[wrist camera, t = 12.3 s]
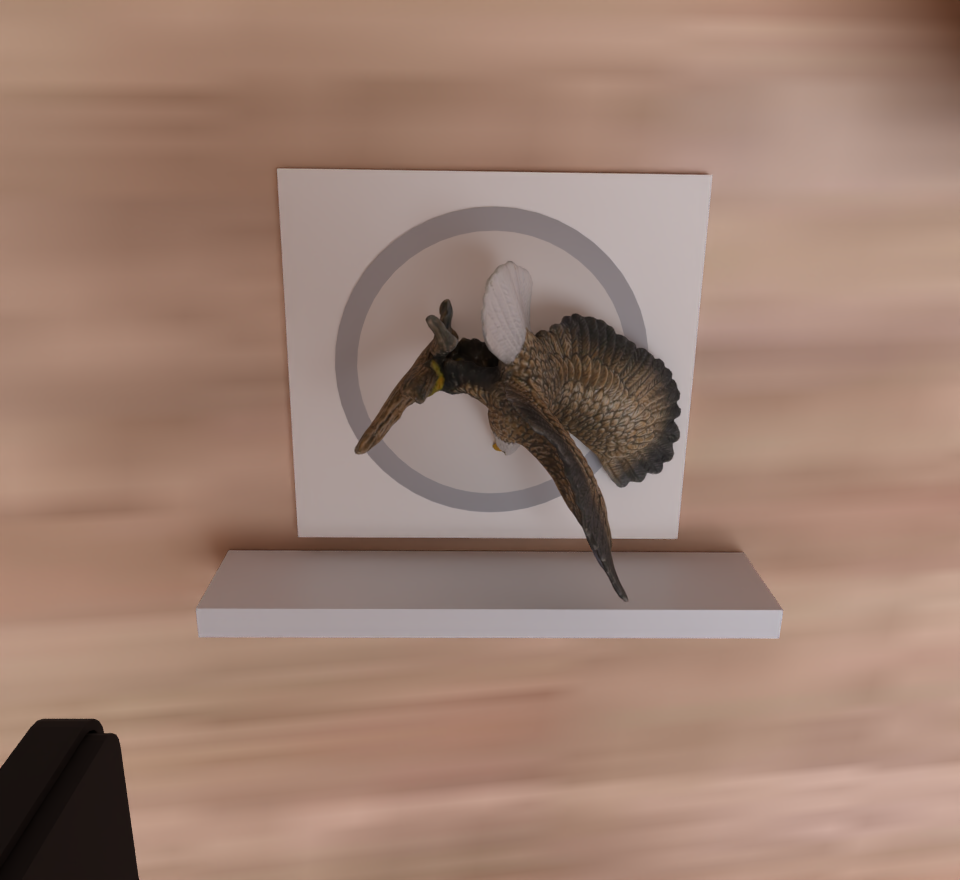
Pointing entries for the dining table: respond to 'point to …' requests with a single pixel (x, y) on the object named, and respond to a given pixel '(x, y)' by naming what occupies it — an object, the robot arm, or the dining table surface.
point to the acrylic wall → (486, 595)
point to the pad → (471, 336)
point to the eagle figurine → (551, 397)
